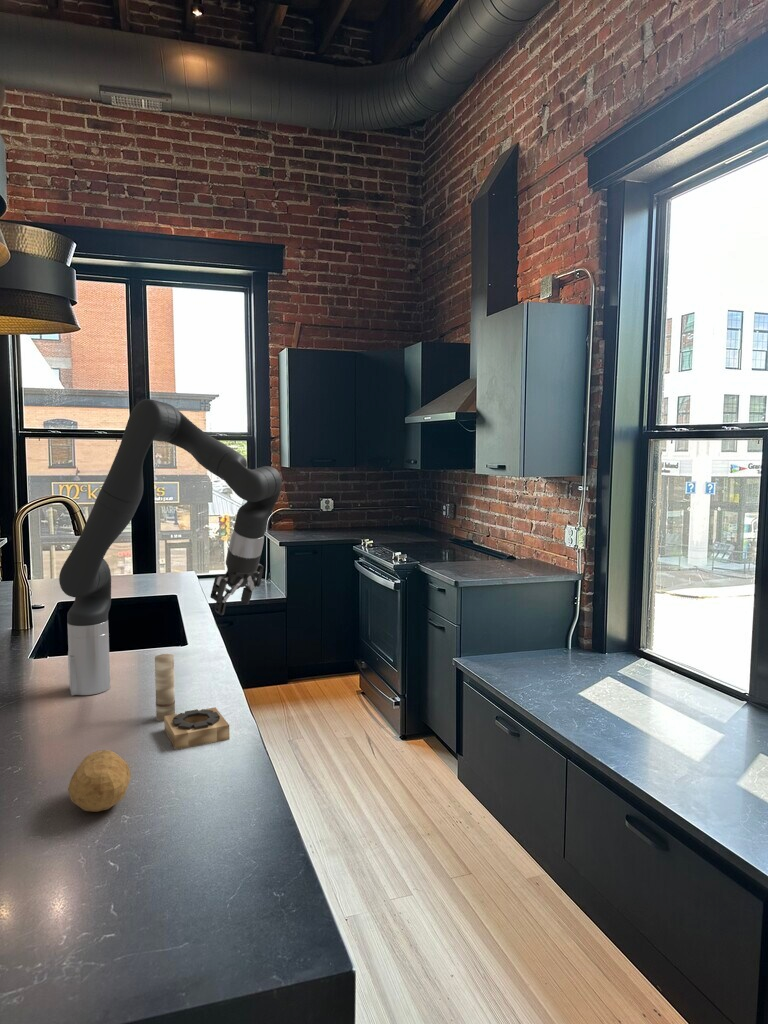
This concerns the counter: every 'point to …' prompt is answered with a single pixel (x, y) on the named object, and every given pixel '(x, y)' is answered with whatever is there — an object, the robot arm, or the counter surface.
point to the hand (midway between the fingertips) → (232, 607)
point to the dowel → (164, 686)
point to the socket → (196, 728)
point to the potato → (99, 781)
